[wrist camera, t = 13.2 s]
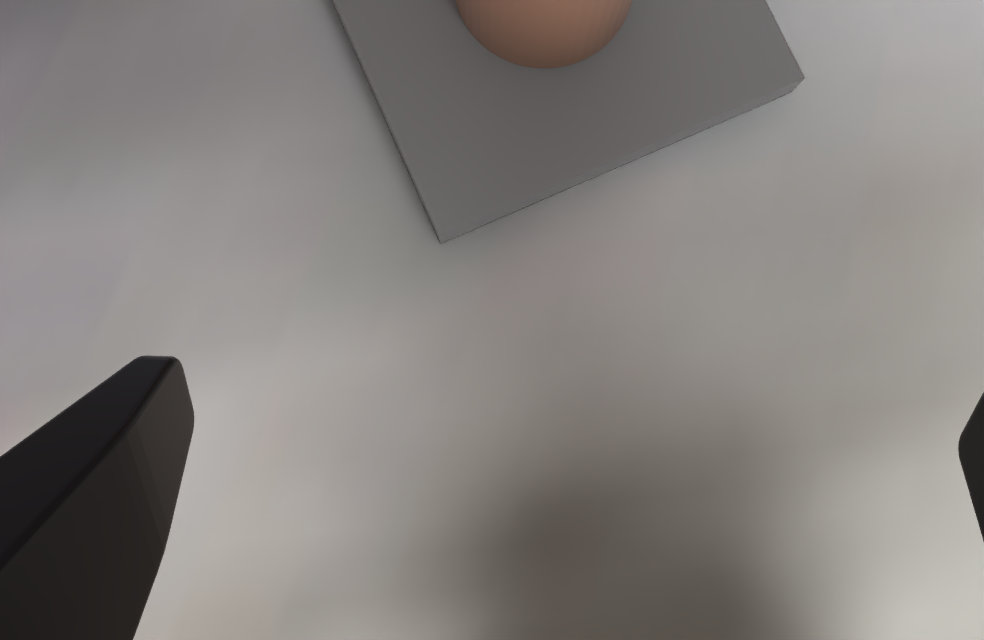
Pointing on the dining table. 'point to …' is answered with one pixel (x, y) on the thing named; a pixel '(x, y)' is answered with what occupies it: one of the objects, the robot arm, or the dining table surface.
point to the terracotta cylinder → (543, 28)
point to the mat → (555, 97)
